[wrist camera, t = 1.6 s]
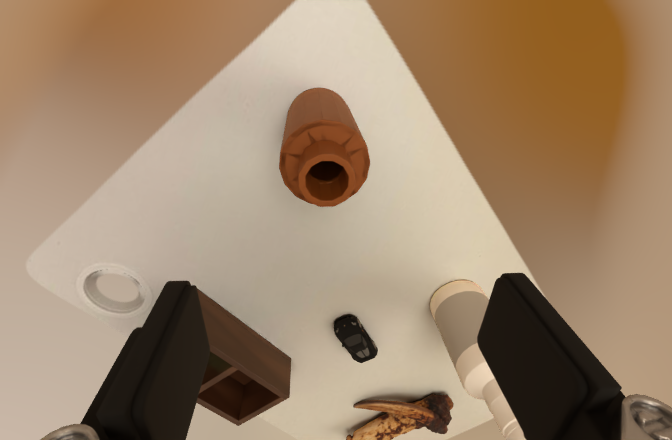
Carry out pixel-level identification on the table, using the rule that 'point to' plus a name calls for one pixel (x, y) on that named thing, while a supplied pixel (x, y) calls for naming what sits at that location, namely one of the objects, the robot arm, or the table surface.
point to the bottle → (322, 149)
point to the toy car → (355, 338)
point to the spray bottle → (471, 348)
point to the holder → (240, 368)
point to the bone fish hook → (404, 417)
